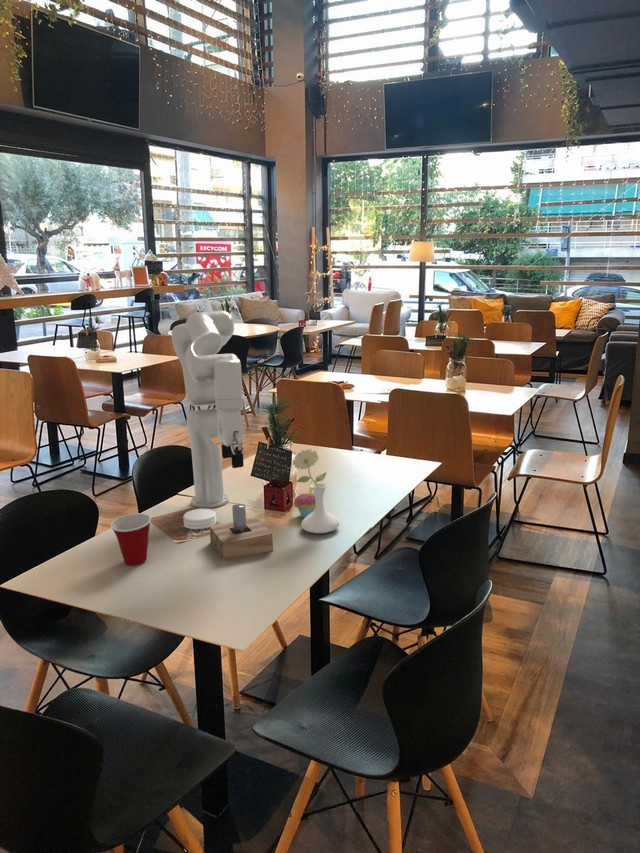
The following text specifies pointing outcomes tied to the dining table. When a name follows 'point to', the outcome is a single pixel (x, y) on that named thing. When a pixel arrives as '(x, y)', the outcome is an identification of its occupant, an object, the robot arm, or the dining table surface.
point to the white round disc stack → (199, 519)
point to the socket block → (241, 539)
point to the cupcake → (305, 503)
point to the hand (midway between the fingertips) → (232, 462)
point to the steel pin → (239, 518)
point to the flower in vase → (319, 517)
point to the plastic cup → (132, 537)
